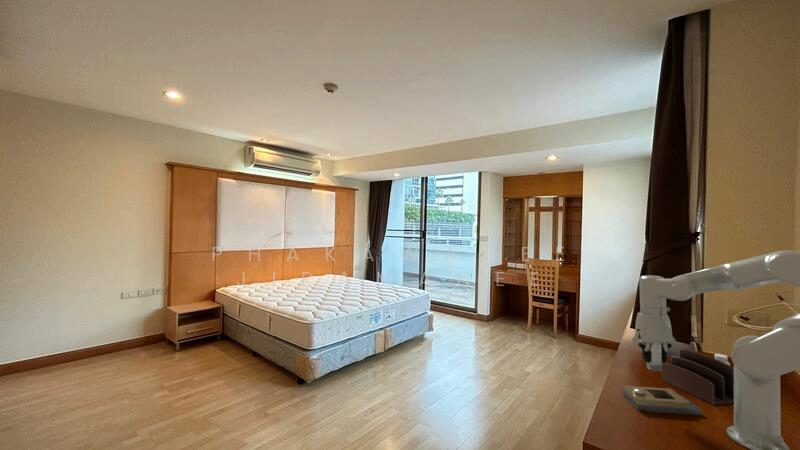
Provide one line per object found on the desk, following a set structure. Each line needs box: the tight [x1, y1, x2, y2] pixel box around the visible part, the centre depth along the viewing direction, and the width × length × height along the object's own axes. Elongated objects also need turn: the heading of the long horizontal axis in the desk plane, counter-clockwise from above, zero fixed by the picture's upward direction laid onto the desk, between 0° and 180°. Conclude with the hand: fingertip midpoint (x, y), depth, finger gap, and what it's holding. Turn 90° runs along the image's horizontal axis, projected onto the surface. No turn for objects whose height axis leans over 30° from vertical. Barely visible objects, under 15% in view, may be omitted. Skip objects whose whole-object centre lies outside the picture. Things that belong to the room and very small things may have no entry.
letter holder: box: [661, 348, 734, 406], centre depth 129 cm, size 10×20×14 cm, turn 9°
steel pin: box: [646, 343, 663, 373], centre depth 117 cm, size 4×4×10 cm
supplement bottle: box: [713, 353, 731, 366], centre depth 139 cm, size 5×5×10 cm
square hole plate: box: [622, 385, 703, 416], centre depth 119 cm, size 20×10×5 cm, turn 80°
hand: (654, 360), depth 117 cm, fingers closed on steel pin, 4 cm apart
